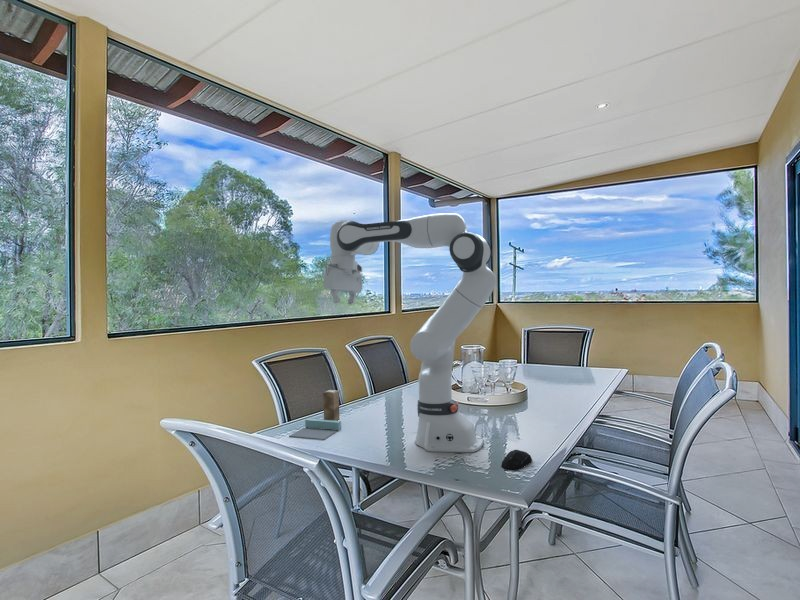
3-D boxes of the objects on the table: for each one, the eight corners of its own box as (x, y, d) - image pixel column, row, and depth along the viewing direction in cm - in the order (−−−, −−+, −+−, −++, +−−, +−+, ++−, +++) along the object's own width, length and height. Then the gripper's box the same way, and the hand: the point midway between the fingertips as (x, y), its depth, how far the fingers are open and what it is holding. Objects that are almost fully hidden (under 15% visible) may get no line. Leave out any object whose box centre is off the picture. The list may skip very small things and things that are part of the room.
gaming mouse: (491, 471, 127) (491, 457, 127) (516, 456, 138) (516, 443, 138) (512, 477, 123) (511, 463, 123) (535, 461, 134) (535, 447, 134)
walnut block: (339, 420, 180) (338, 390, 180) (334, 423, 176) (333, 392, 176) (329, 419, 182) (328, 389, 181) (324, 422, 177) (323, 391, 177)
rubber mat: (336, 432, 165) (336, 431, 165) (324, 440, 156) (324, 439, 156) (302, 429, 169) (302, 428, 169) (289, 436, 161) (289, 435, 161)
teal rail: (341, 429, 169) (340, 421, 169) (338, 430, 167) (338, 422, 167) (308, 426, 173) (307, 418, 173) (305, 427, 171) (305, 419, 171)
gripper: (333, 261, 153) (334, 301, 152) (364, 268, 171) (365, 304, 170) (318, 263, 156) (319, 303, 154) (350, 269, 174) (351, 305, 173)
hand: (344, 303), depth 162 cm, fingers open, 8 cm apart
